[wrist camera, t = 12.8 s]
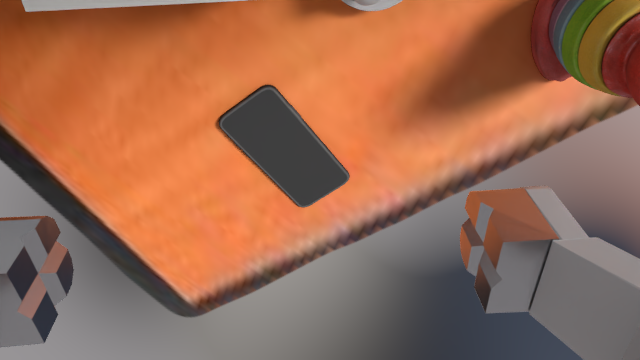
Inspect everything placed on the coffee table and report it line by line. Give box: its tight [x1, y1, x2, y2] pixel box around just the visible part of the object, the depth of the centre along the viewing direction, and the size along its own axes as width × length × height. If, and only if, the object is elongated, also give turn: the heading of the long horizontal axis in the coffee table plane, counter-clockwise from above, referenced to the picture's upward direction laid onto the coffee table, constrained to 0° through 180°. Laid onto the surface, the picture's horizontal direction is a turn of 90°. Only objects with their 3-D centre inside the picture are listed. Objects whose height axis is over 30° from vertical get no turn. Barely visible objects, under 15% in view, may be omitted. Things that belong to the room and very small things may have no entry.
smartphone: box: [219, 85, 349, 207], centre depth 54 cm, size 7×1×15 cm
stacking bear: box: [531, 0, 640, 106], centre depth 40 cm, size 11×10×18 cm
